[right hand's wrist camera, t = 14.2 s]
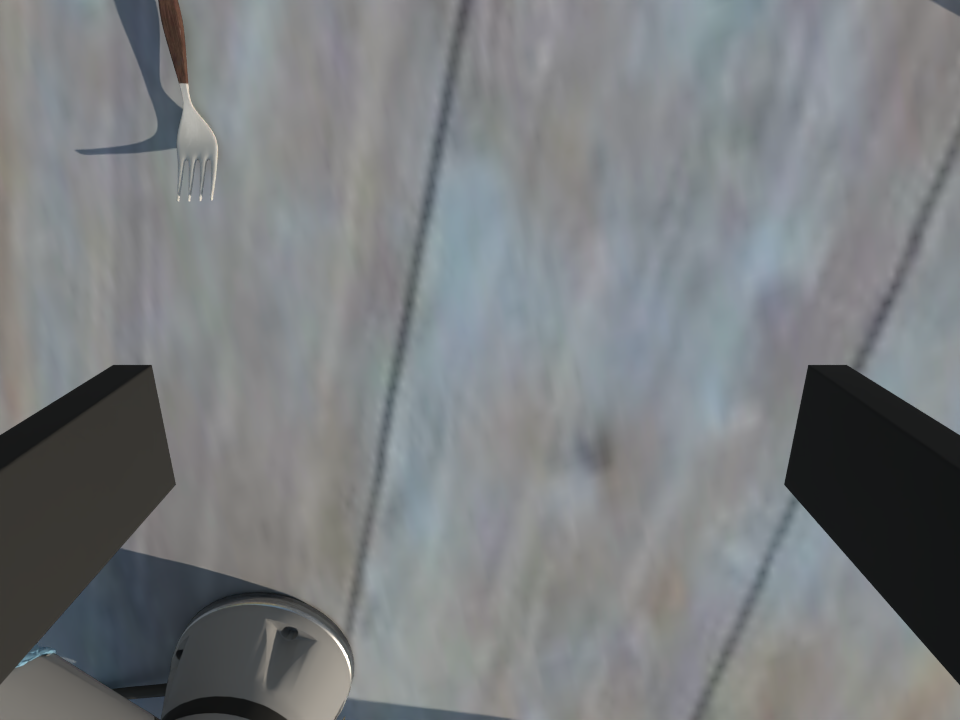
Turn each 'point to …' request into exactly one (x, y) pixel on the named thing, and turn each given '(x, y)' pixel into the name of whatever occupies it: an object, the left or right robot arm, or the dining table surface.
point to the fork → (188, 106)
